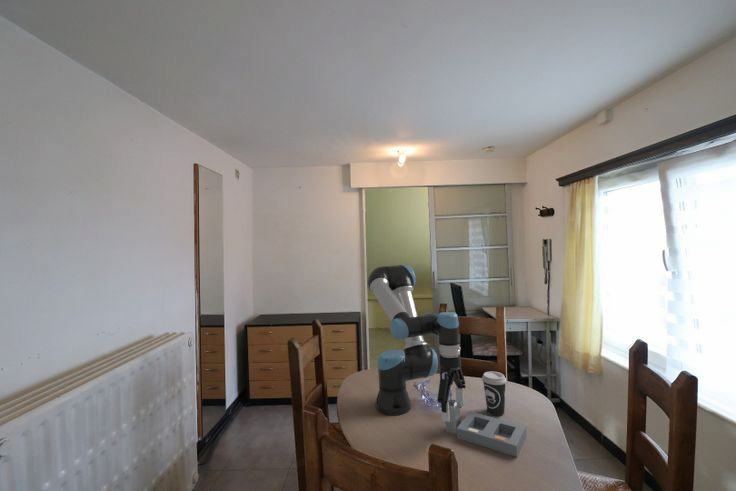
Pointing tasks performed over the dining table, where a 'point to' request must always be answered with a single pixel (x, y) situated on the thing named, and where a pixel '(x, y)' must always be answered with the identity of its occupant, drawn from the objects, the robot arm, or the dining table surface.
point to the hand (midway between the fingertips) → (453, 412)
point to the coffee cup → (494, 392)
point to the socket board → (492, 433)
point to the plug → (453, 417)
